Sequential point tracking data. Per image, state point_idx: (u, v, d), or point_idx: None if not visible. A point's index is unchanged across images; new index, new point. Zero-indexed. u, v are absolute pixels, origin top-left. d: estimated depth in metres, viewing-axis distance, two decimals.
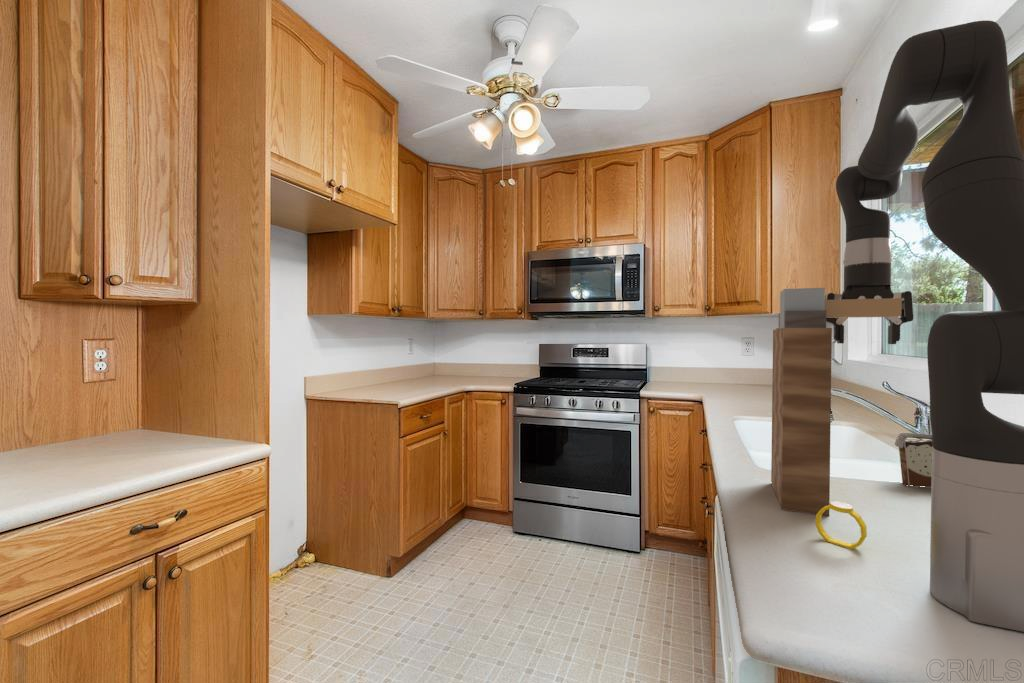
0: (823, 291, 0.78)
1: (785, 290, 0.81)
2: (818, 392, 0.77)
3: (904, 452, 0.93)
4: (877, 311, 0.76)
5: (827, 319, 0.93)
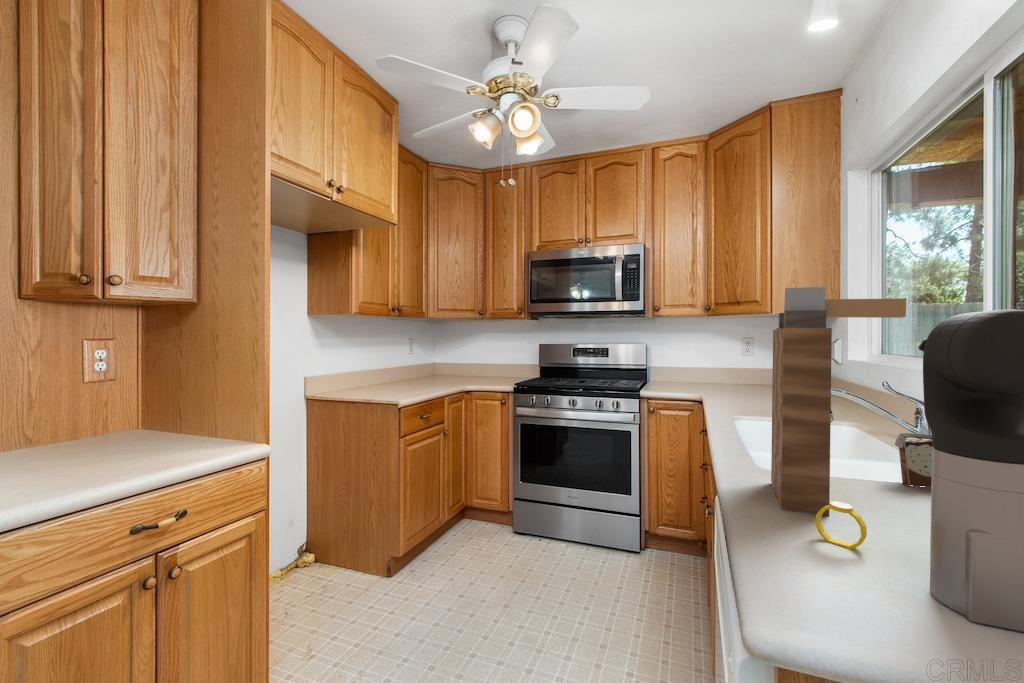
0: (824, 290, 0.78)
1: (786, 289, 0.81)
2: (818, 392, 0.77)
3: (904, 452, 0.93)
4: (880, 311, 0.75)
5: None
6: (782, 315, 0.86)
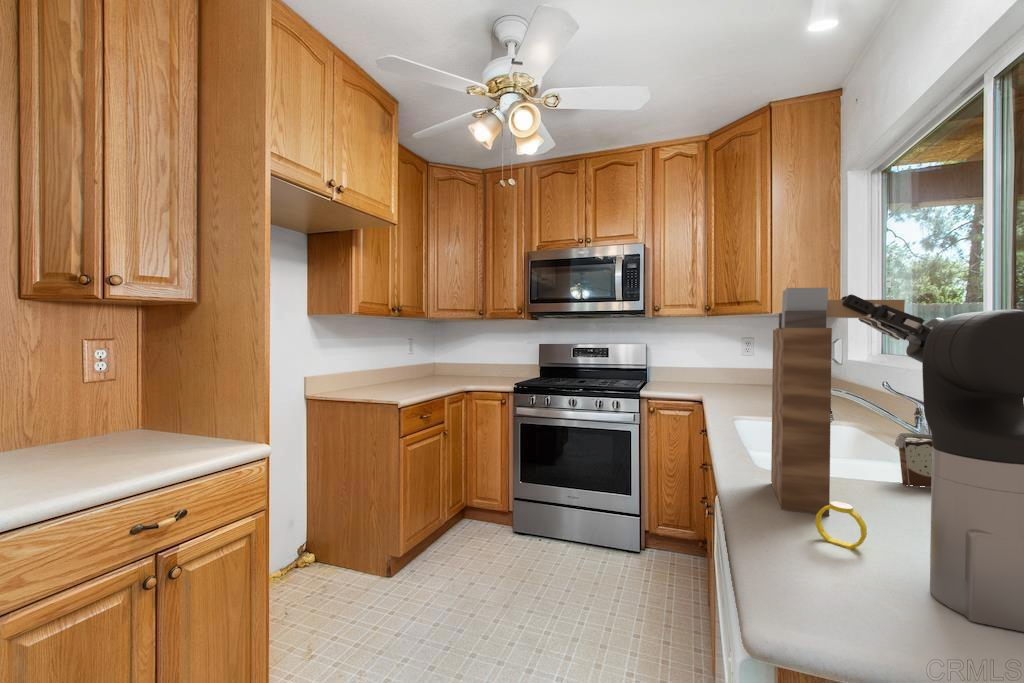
0: (826, 291, 0.78)
1: (788, 289, 0.80)
2: (818, 392, 0.77)
3: (904, 452, 0.93)
4: None
5: (876, 318, 0.74)
6: None
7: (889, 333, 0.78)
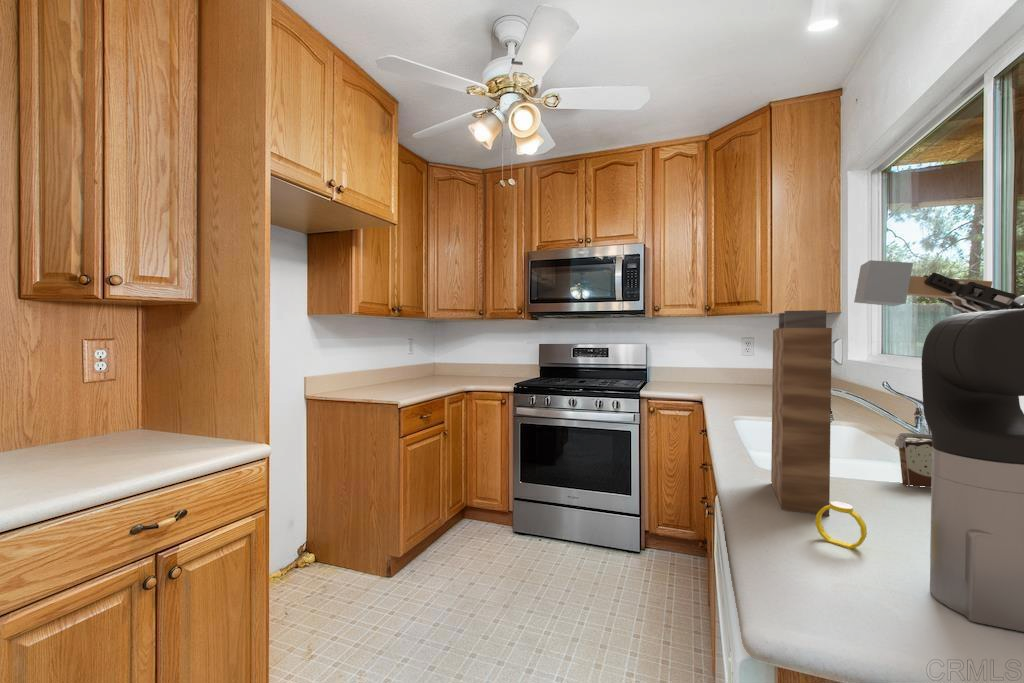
0: (911, 266, 0.77)
1: (870, 261, 0.80)
2: (818, 392, 0.77)
3: (904, 452, 0.93)
4: None
5: (963, 295, 0.73)
6: (782, 315, 0.86)
7: (973, 311, 0.77)
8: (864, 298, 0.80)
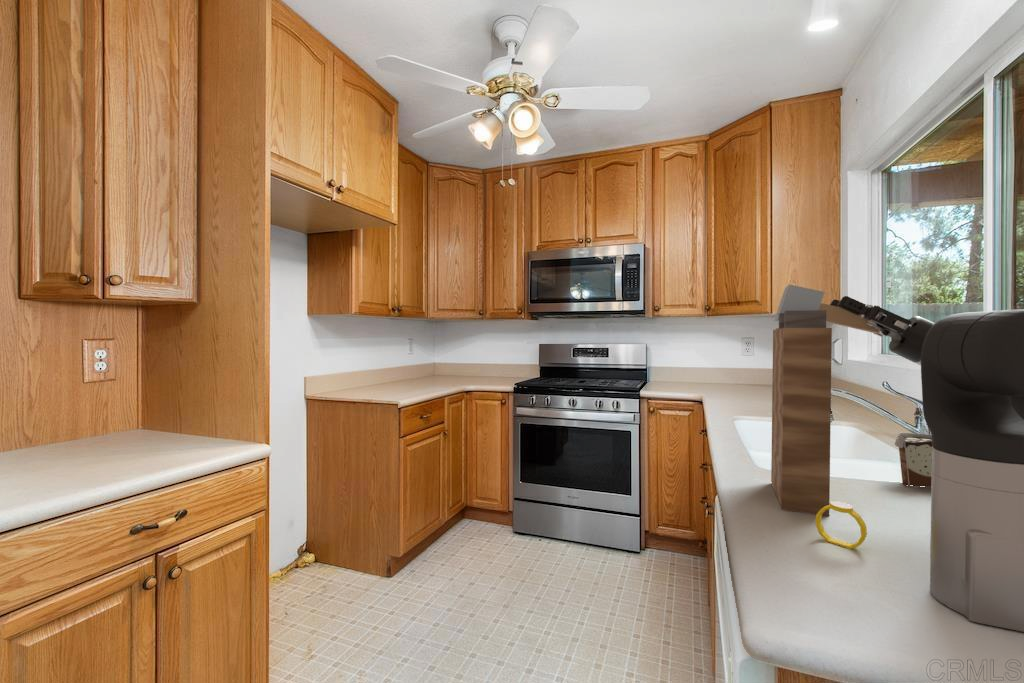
0: (822, 295, 0.85)
1: (789, 286, 0.88)
2: (818, 392, 0.77)
3: (904, 452, 0.93)
4: (863, 324, 0.84)
5: (869, 318, 0.80)
6: (782, 315, 0.86)
7: None
8: (778, 318, 0.88)
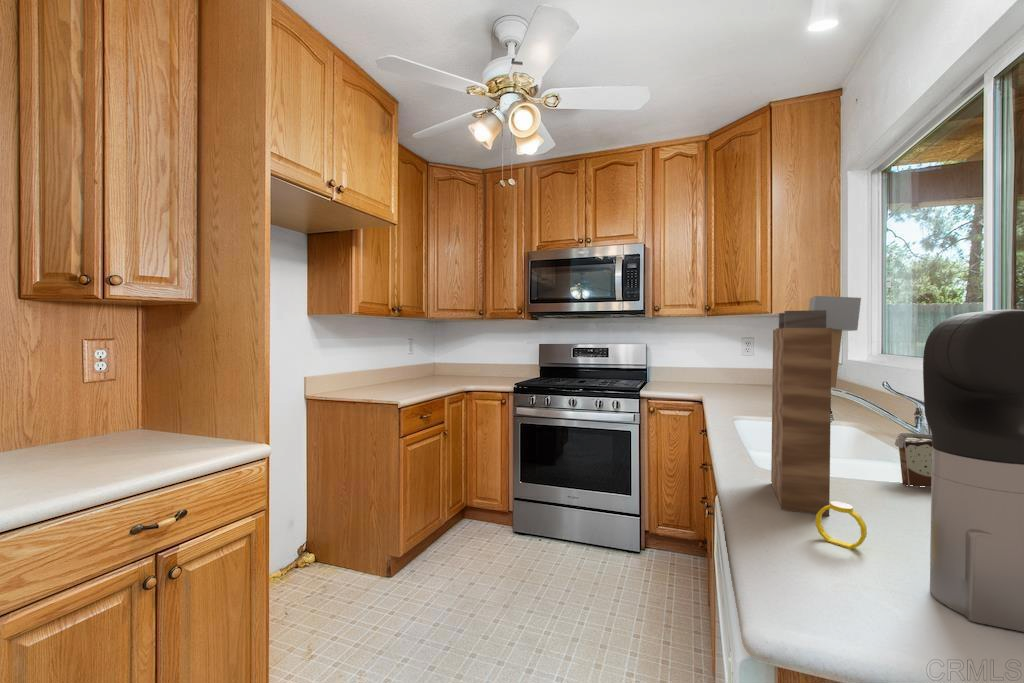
0: (853, 329, 0.83)
1: (859, 298, 0.83)
2: (818, 392, 0.77)
3: (904, 452, 0.93)
4: None
5: None
6: (782, 315, 0.86)
7: None
8: (817, 296, 0.86)
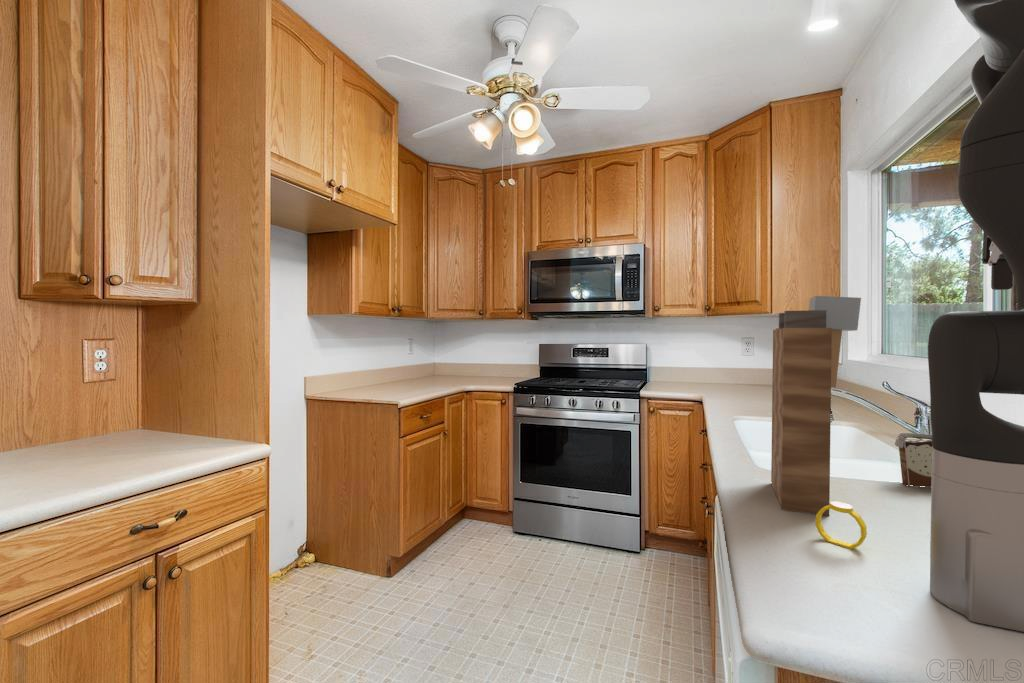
0: (853, 329, 0.83)
1: (859, 298, 0.83)
2: (818, 392, 0.77)
3: (904, 452, 0.93)
4: None
5: None
6: (782, 315, 0.86)
7: None
8: (817, 296, 0.86)
